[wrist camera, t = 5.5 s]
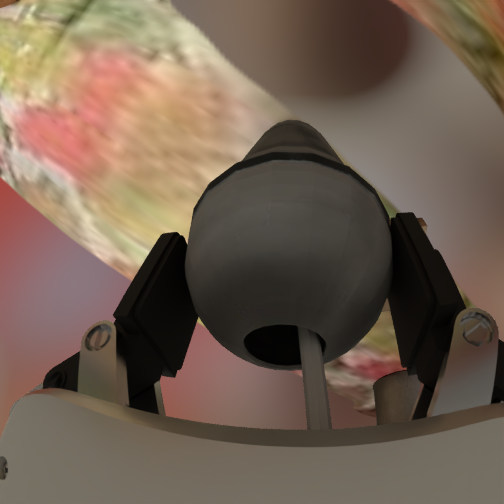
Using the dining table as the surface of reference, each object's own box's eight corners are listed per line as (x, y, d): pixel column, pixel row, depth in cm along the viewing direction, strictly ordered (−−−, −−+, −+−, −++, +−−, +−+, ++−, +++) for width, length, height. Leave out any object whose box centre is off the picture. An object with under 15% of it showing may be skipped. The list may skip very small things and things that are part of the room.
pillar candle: (363, 390, 48) (368, 459, 37) (391, 368, 42) (401, 446, 30) (400, 391, 49) (407, 454, 37) (428, 370, 43) (441, 439, 31)
